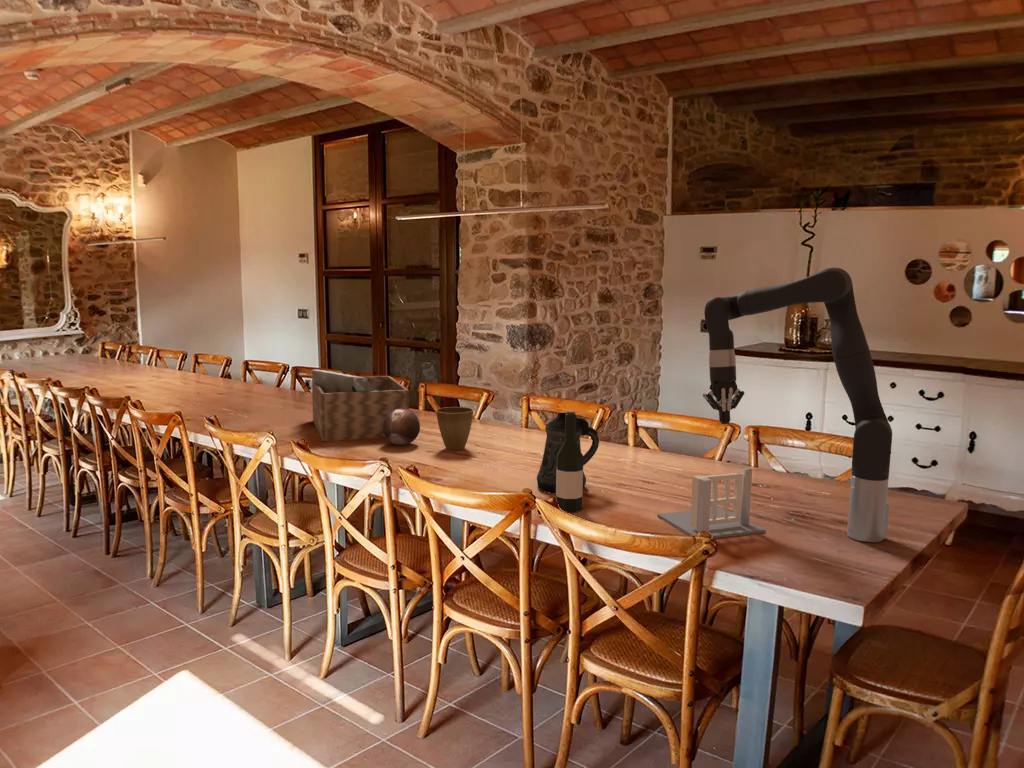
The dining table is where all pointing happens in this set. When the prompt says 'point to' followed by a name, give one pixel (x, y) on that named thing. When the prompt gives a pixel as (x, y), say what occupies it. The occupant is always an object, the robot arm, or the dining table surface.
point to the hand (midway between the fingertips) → (725, 423)
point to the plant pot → (455, 426)
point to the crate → (357, 410)
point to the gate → (714, 501)
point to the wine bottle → (569, 469)
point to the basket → (340, 382)
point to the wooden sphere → (401, 426)
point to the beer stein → (553, 445)
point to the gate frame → (704, 514)
